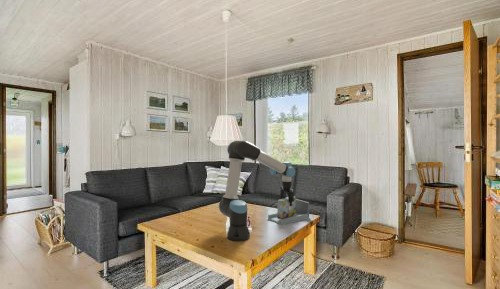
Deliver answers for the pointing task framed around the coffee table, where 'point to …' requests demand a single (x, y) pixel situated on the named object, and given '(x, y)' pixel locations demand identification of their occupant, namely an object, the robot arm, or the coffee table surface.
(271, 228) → the coffee table surface
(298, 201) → the shelf
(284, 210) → the snack box
